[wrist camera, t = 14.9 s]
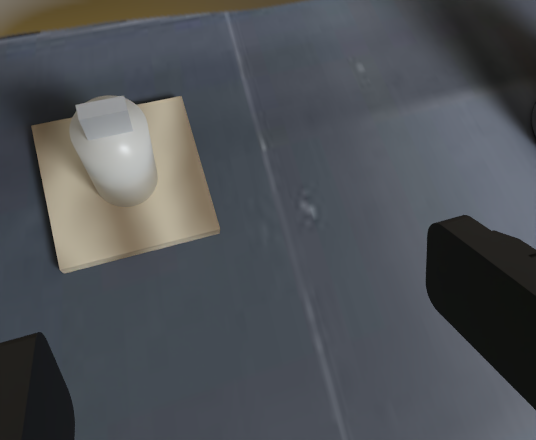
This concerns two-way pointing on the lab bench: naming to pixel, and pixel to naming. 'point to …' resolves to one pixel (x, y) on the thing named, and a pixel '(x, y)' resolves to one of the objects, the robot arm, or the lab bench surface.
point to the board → (125, 218)
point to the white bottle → (115, 149)
